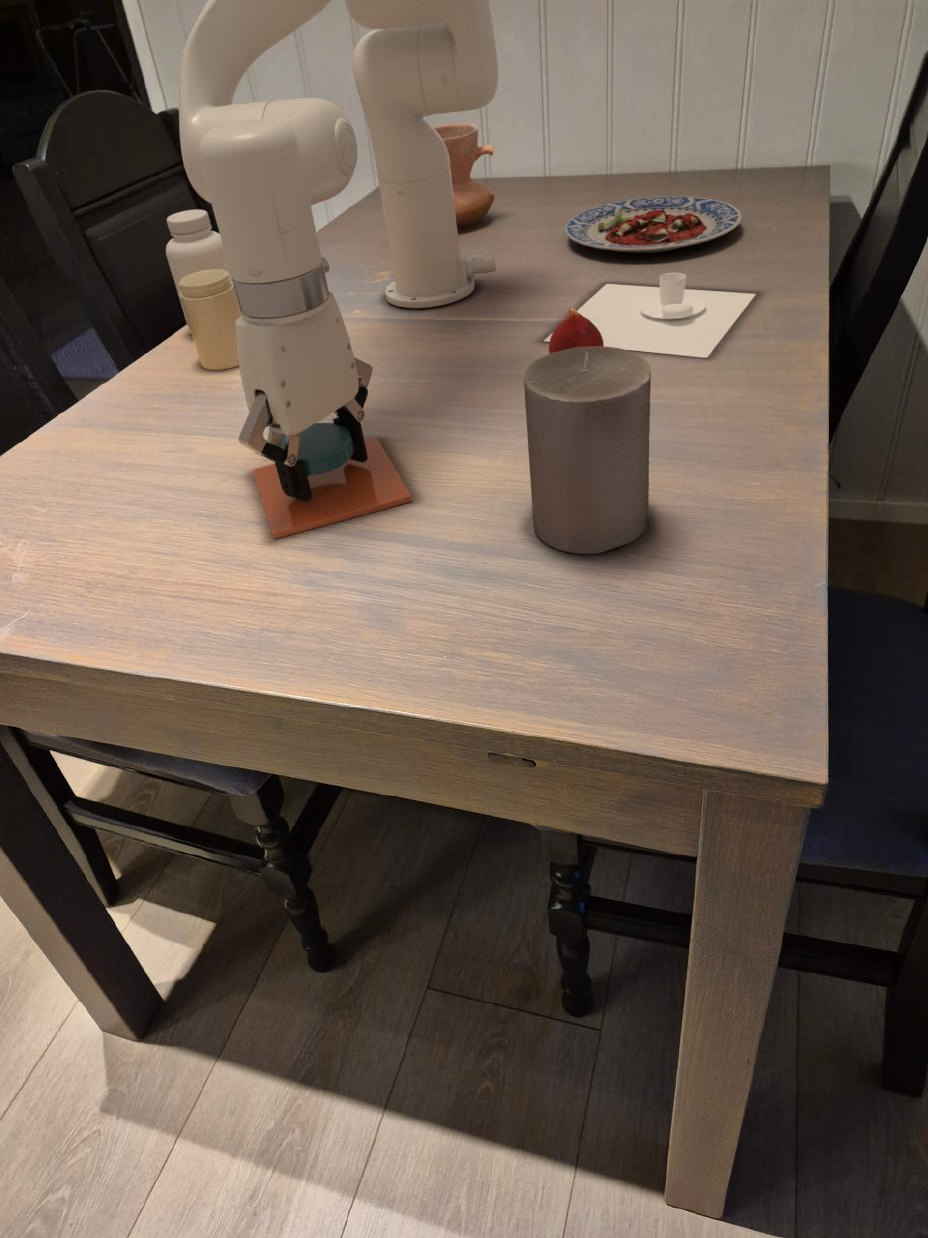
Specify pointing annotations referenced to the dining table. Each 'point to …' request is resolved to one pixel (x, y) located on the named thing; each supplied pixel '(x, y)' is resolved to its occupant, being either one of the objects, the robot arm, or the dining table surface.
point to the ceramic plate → (653, 224)
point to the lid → (323, 447)
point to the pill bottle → (193, 246)
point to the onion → (575, 333)
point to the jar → (212, 316)
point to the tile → (333, 493)
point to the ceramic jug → (466, 172)
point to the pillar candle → (588, 447)
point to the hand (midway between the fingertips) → (327, 476)
